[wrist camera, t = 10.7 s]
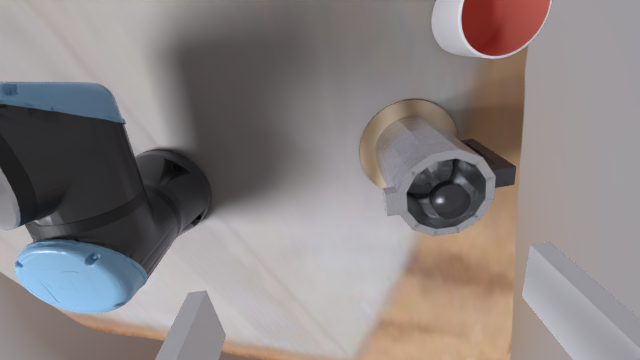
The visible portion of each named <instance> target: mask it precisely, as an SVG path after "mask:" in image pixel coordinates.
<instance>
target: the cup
mask: <svg viewBox="0 0 640 360" xmlns="http://www.w3.org/2000/svg"><path fill="white" fill-rule="evenodd" d="M551 5H552V0H436V2H435V5H434V8H433V12H432V18H431V25H432V31H433V35H434V38H435V39H436V41H437V43H438V44H439V45H440V46H441V47H442V48H443V49H444V50H445V51H447V52H449V53H451V54H454V55H461V56H470V57H479V58H488V59H498V58H504V57H507V56H510V55H512V54H515V53H516V52H518V51H520V50H521V49H523V48H524V47H526V46H527V45H528V44H529V43H530V42H531V41H532V40H533V39H534V38H535V37H536V35H537V34H538V33H539V32H540V30H541V29H542V27H543V26H544V24H545V22H546V20H547V17H548V15H549V12H550V9H551Z"/></svg>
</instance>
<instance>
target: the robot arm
mask: <svg viewBox="0 0 640 360" xmlns="http://www.w3.org/2000/svg"><path fill="white" fill-rule="evenodd" d="M124 124H126V122H125V120H124V119H123V118H122V117H121V114H120V111H119V109H118V106H117V104H116V101H115V98H114V96H113V94H112V93H111V92H110V91H109V90H108V89H107V88H106V87H104V86H102V85H100V84H97V83H86V82H0V230H12V229H15V228H17V227H19V226H22V225H24V224H25V226H26V228H27V230H28V231H29V233H30V235H31V237H32V239H33V243H31V244H28V245H27V246H26V247H24V248H23V249H22V251H21V253H20V254H19V256H18V258H17V261H16V262H15V273H16V275H17V278H18V279H19V281H20V282H21V284H22V285H23V286H24V287H25V288H26V289H27V290H28V291H29V292H30V293H32V294H33V295H35V296H36V297H38V298H39V299H41V300H43V301H45V302H47V303H49V304H51V305H53V306H57V307H59V308H62V309H65V310H69V311H73V312H79V313H104V312H108V311H112V310H115V309H117V308H119V307H121V306H123V305H125V304H126V303H127V302H128V301H129V300H130V299H131V298H132V297H133V296H134V295H135V293H136V292H137V291H138V290H139V288H141V287H142V286H143V285H145V283H146V282H147V279H148V278H149V276H150V275H151V273H152V272H153V271H154V269H155V268H156V266H157V265H158V263H159V262H160V260H161V259H162V258H163V256H164V255H165V253H166V252H167V250H168V249H169V247H170V246H171V244H172V243H173V242H174V240H175V239H176V237H178V236H179V235H181V234H183V233H185V232H186V231H188V230H190V229H192V228H193V227H195V226H196V225H197V224H198V223H199V222H200V221H201V220H202V219H203V217H204V216H205V214H206V213H207V211H208V209H209V207H210V204H211V189H210V186H209V183H208V181H207V179H206V177H205V175H204V174H203V172H202V171H201V170H200V169H199V168H198V167H197V166H196V165H195V164H194V163H193V162H191V161H190V160H188V159H187V158H185V157H183V156H181V155H179V154H176V153H173V152H170V151H164V150H153V151H147V152H144V153H141V154H139V155H137V156H136V157H135V156H134V153H133V150H132V147H131V144H130V141H129V138H128V135H127V132H126V129H125V126H124ZM522 297H523V298H524V299H525V301H526V302H527V303H528V304H529V305H530V307H531V308H532V309H533V310H534V312H535V313H536V314H537V315H538V317H539V318H540V319H541V320H542V322H543V323H544V324H545V325H546V326H547V328H548V329H549V330H550V332H551V333H552V334H553V335H554V336H555V338H556V339H557V340H558V341H559V343H560V344H561V345H562V346H563V348H564V349H565V350H566V351H567V353H568V354H569V355H570V356H571V357H572V359H573V360H640V318H639V317H637V316H636V315H635V314H634V313H633V312H632V311H630V310H629V309H628V308H627V307H626V306H625V305H623V304H622V303H621V302H620V301H619V300H618V299H616V298H615V297H614V296H613V295H612V294H611V293H609V292H608V291H607V290H606V289H605V288H604V287H602V286H601V285H600V284H599V283H598V282H597V281H595V280H594V279H593V278H592V277H591V276H590V275H588V274H587V273H586V272H585V271H584V270H582V269H581V268H580V267H579V266H578V265H577V264H576V263H574V262H573V261H572V260H571V259H570V258H568V257H567V256H566V255H565V254H564V253H563V252H562V251H560V250H559V249H558V248H557V247H556V246H555V245H553V244H552V243H551V242H547V243H540V244H533V245H530V251H529V257H528V263H527V270H526V275H525V281H524V288H523V294H522ZM225 337H226V334H225V332H224V330H223V328H222V325H221V323H220V321H219V319H218V316H217V314H216V312H215V310H214V307H213V305H212V303H211V300H210V298H209V296H208V294H207V291H200V292H193V293H188V295H187V297H186V299H185V301H184V303H183V305H182V307H181V309H180V311H179V313H178V315H177V317H176V319H175V321H174V323H173V325H172V327H171V329H170V331H169V333H168V335H167V337H166V339H165V341H164V343H163V345H162V347H161V349H160V351H159V353H158V355H157V357H156V359H155V360H219V357H220V353H221V350H222V347H223V343H224V340H225Z"/></svg>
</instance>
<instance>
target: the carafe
mask: <svg viewBox="0 0 640 360" xmlns="http://www.w3.org/2000/svg"><path fill="white" fill-rule="evenodd" d="M375 157H376V161H377V167H378V169H379V171H380V173H381V175H382V178H383V180H384V182H385V184H386V186H387V187H386V188H383V196H384V205H385V211H386V213H387V216H392V215H398V214H400V215H401V217H402V218H403V219H404V220H405V221H406V222H407V224H408V225H409V226H410V227H411V228H412V229H413V230H415V231H419V232H422V233H425V234H428V235H432V236H440V235H446V234H453V233H459V232H460V231H462V230H464V229H465V228H467V227H469V226H470V225H472V224H474V223H475V222H477V221H478V220H480V219H481V218H482V216H483V215H484V213H485V212H486V210H487V209H488V207H489V206H490V204H491V203H492V201H493V200H494V193H495V188H496V187H503V186H509V185H514V182H515V172H516V166H514V165H513V164H511V163H510V162H508V161H507V160H505V159H503V158H502V157H500V156H499V155H497V154H496V153H494V152H493V151H491V150H489V149H488V148H486V147H485V146H483V145H482V144H480V143H479V142H477V141H475V140H474V139H468V140H462V141H459V140H458V139H456V138H455V137H454V136H452V135H451V134H449V133H448V132H447V131H445V130H444V129H442V128H441V127H440V126H438V125H437V124H436V123H433V122H431V121H429V120H427V119H425V118H421V117H413V116H411V117H405V118H401V119H398V120H396V121H394V122H393V123H391V124H390V125H388V126H387V127H386V128H385V129H384V130H383V132H382V133H381V134H380V136H379V138H378V140H377V143H376V147H375ZM450 159H452V160H453V167H452V171H451V174H450V176H449V178H448V179H447V180H453V181H456V182H458V183H459V184H460V185H461V186H462V187H463V188H464V189H465V190H466V191H467V192H468V193H469V195H470V197H471V203H470V206H469V208H468V210H467V211H466V212H465V213H464V214H463V215H461V216H459V217H457V218H453V219H445V218H442V217H440V216H438V215H437V213H436V212H435V211H434V209H433V208H432V206H431V205H430V203H429V193H430V192H429V193H424V194H416V193H411V192H409V191H408V189H409V187H410V185H411V183H412V182H413V180H414V178H415V176H416V175H417V174H418V173H420V172H421V171H423V170H424V169H425V168H427V167H428V166H430V165H431V164H433V163H434V162H438V161H444V160H450Z"/></svg>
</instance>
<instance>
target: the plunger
mask: <svg viewBox="0 0 640 360" xmlns="http://www.w3.org/2000/svg"><path fill="white" fill-rule="evenodd" d="M452 167H453V160H452V159H450V160H444V161H438V162H434V163H433V164H431V165H430V166H428V167H427V168H425V169H424V170H423V171H421V172H420V173H418V174H417V175H416V176H415V178H414V180H413V182H412V183H411V185H410V187H409V189H408V191H409V192H411V193H416V194H424V193H429V192H430V193H429V203H430V205H431V206H432V208H433V209H434V211H435V212H436V213H437V215H438V216H440V217H442V218H445V219H453V218H457V217H459V216H461V215H463V214H464V213H465V212H466V211H467V210H468V208H469V206H470V203H471V197H470V195H469V193H468V192H467V191H466V190H465V189H464V188H463V187H462V186H461V185H460V184H459V183H458V182H456V181H453V180H447V179H448V178H449V176H450V174H451V171H452Z"/></svg>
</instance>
